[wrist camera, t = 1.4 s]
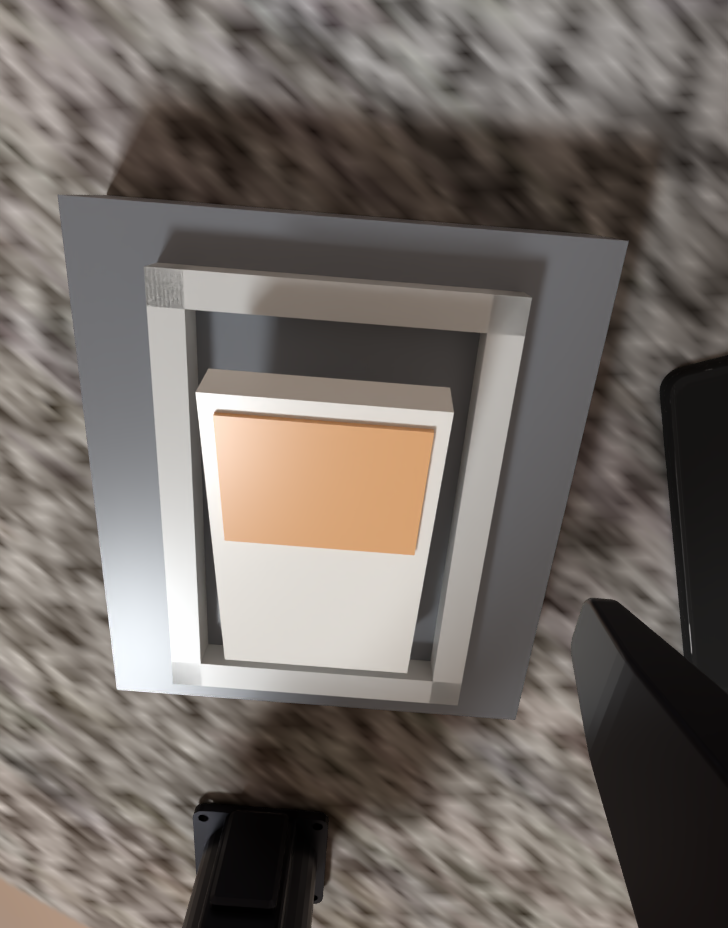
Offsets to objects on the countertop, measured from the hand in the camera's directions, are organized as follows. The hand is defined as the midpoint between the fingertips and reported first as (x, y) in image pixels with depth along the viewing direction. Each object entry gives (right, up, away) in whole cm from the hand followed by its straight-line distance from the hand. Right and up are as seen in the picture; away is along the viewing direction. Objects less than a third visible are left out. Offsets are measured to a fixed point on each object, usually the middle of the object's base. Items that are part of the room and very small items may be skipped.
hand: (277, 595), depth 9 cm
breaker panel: (0, +2, +13) cm, 13 cm away
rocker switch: (0, 0, +9) cm, 9 cm away
